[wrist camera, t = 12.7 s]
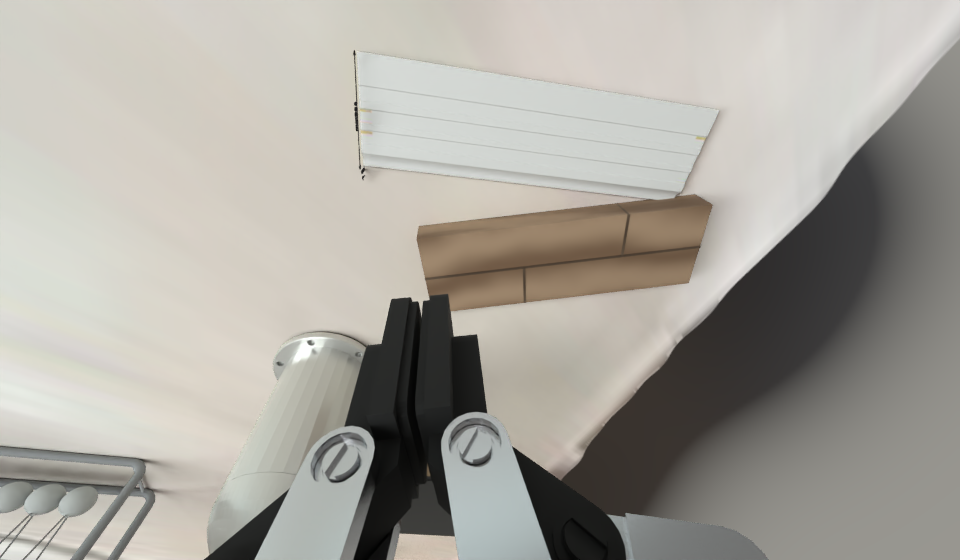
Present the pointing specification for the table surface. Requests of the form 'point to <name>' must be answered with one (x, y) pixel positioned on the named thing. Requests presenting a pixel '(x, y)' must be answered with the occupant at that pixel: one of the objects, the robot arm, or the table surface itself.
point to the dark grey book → (427, 514)
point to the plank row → (563, 252)
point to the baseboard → (523, 129)
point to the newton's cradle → (73, 496)
